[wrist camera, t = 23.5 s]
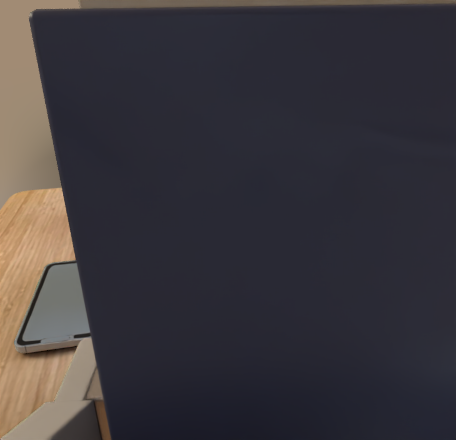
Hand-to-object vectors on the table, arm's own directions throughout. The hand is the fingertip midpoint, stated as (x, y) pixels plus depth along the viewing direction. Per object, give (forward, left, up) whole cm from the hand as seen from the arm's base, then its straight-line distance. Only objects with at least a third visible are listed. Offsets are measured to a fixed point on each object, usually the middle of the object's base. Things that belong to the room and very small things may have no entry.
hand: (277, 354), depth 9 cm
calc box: (+1, -1, -10) cm, 10 cm away
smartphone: (-32, +9, -19) cm, 38 cm away
